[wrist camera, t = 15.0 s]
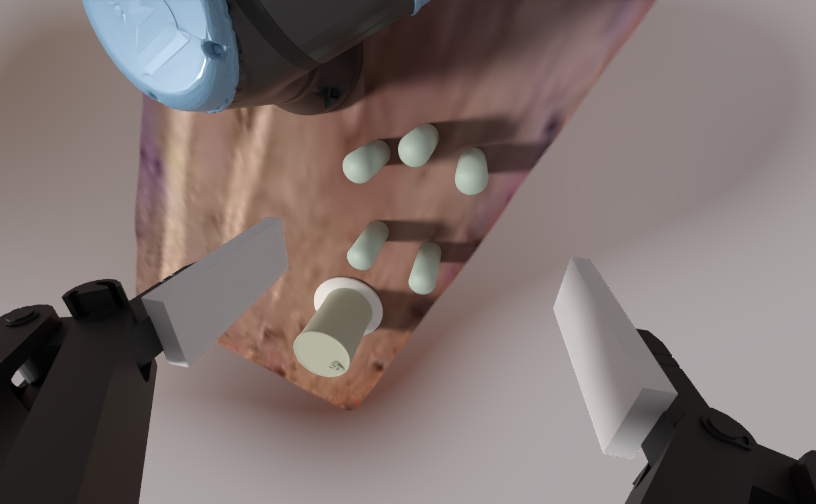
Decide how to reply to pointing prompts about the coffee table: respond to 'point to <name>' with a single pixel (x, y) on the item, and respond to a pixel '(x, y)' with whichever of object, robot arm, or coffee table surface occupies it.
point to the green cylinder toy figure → (334, 333)
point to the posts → (414, 154)
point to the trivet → (357, 286)
